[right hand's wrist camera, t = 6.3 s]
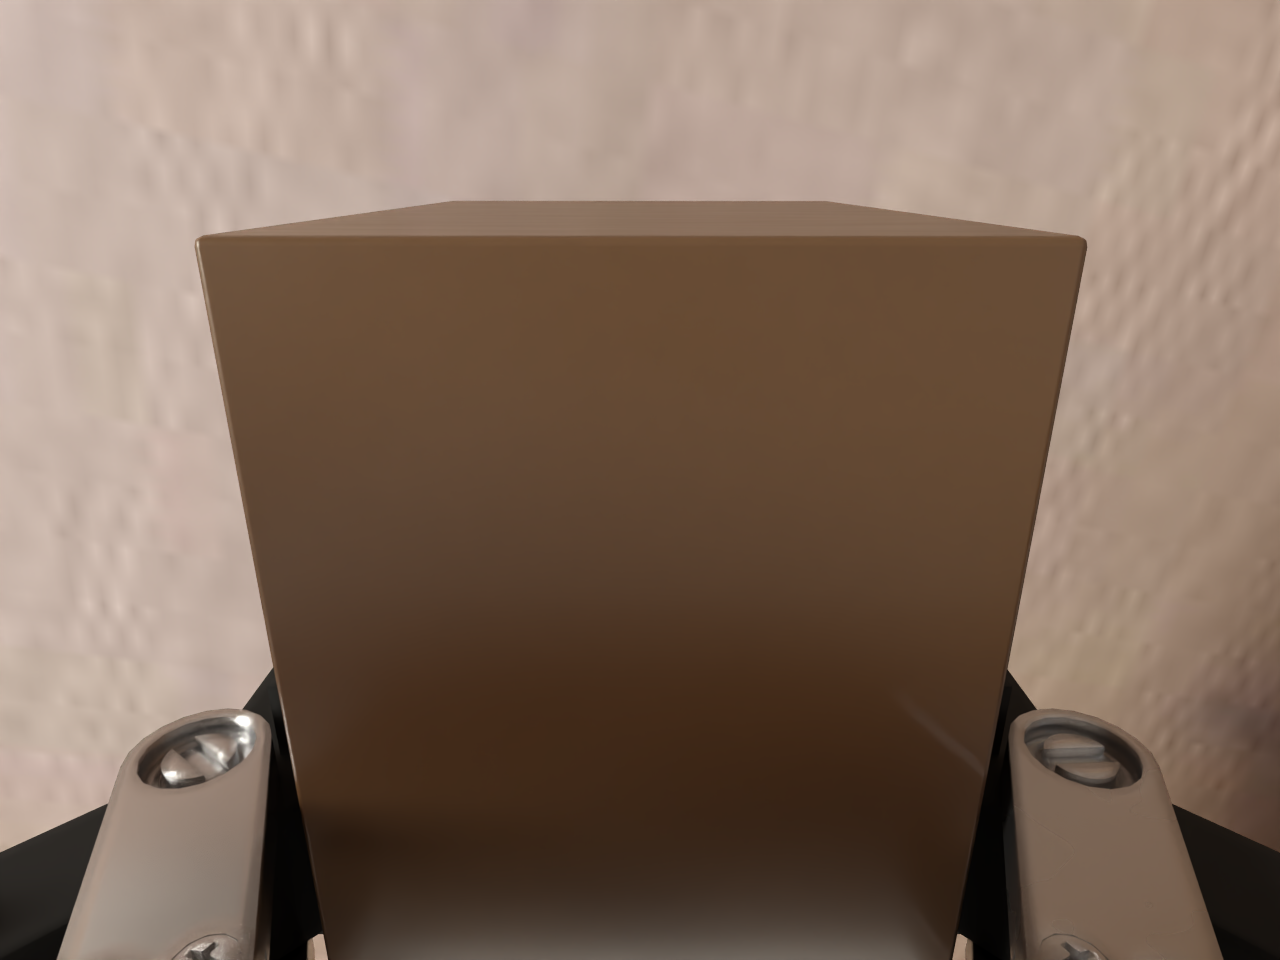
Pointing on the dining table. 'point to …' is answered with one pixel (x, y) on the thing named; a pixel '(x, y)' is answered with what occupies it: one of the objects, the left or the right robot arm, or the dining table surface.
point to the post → (640, 562)
